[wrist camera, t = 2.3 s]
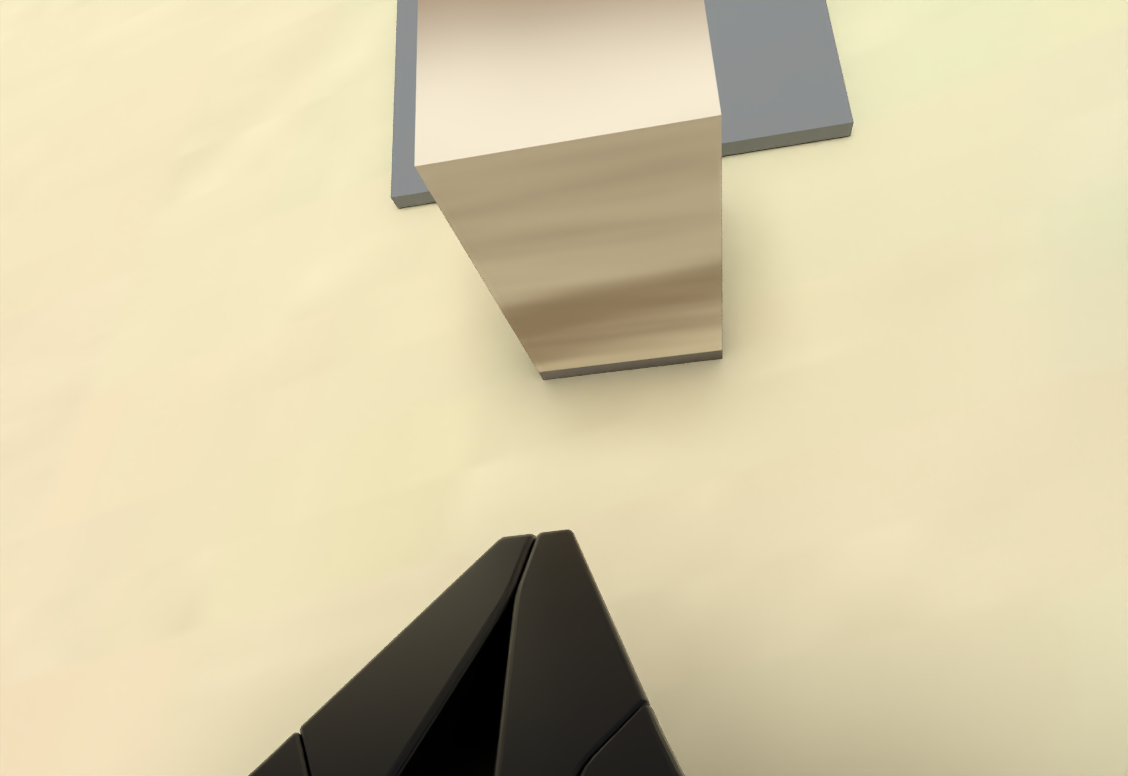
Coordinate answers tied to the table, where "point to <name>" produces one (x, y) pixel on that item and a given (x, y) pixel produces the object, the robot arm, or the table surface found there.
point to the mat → (743, 75)
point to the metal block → (580, 172)
